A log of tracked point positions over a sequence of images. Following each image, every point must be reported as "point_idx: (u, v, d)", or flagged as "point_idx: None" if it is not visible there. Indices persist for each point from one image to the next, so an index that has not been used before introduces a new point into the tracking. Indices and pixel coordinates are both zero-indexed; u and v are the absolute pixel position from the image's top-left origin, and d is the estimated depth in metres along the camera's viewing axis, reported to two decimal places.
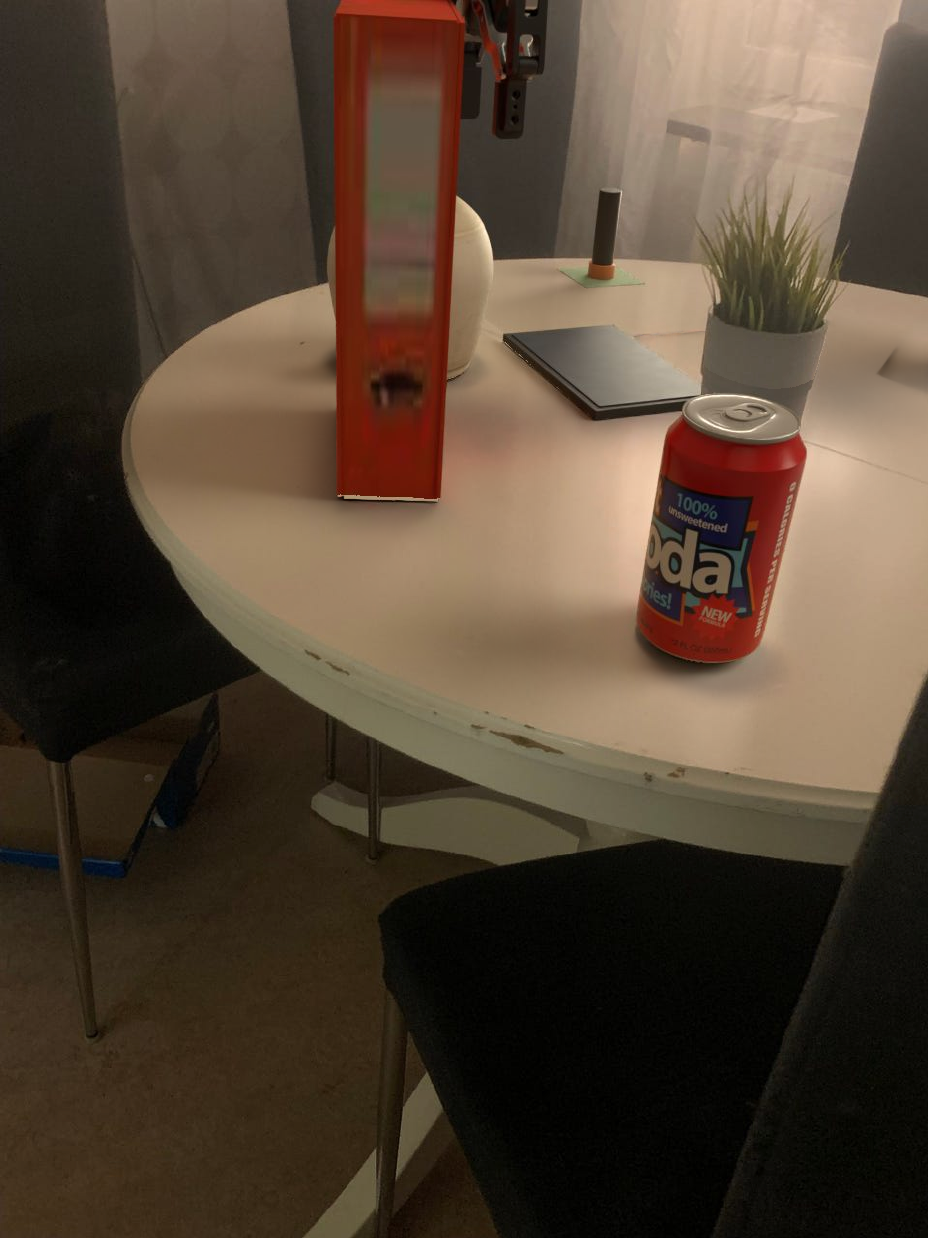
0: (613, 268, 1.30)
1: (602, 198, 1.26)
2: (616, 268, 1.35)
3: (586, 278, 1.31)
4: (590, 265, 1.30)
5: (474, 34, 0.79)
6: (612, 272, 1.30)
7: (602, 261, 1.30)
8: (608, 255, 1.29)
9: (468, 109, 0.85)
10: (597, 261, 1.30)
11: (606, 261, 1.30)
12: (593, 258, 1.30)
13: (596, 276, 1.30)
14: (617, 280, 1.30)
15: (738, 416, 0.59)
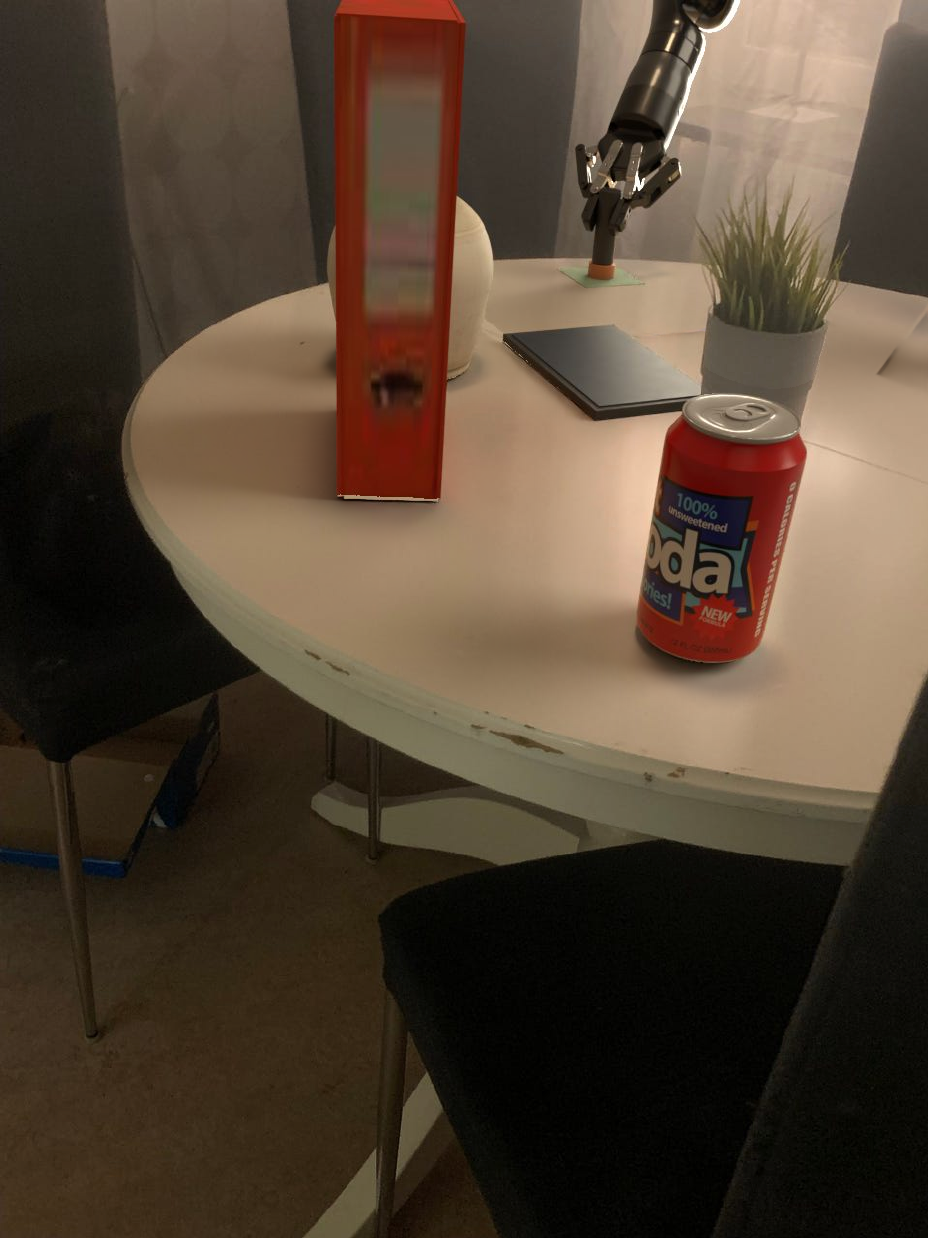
0: (613, 268, 1.30)
1: (602, 198, 1.26)
2: (616, 268, 1.35)
3: (586, 278, 1.31)
4: (590, 265, 1.30)
5: None
6: (612, 272, 1.30)
7: (602, 261, 1.30)
8: (608, 255, 1.29)
9: None
10: (597, 261, 1.30)
11: (606, 261, 1.30)
12: (593, 258, 1.30)
13: (596, 276, 1.30)
14: (617, 280, 1.30)
15: (738, 416, 0.59)
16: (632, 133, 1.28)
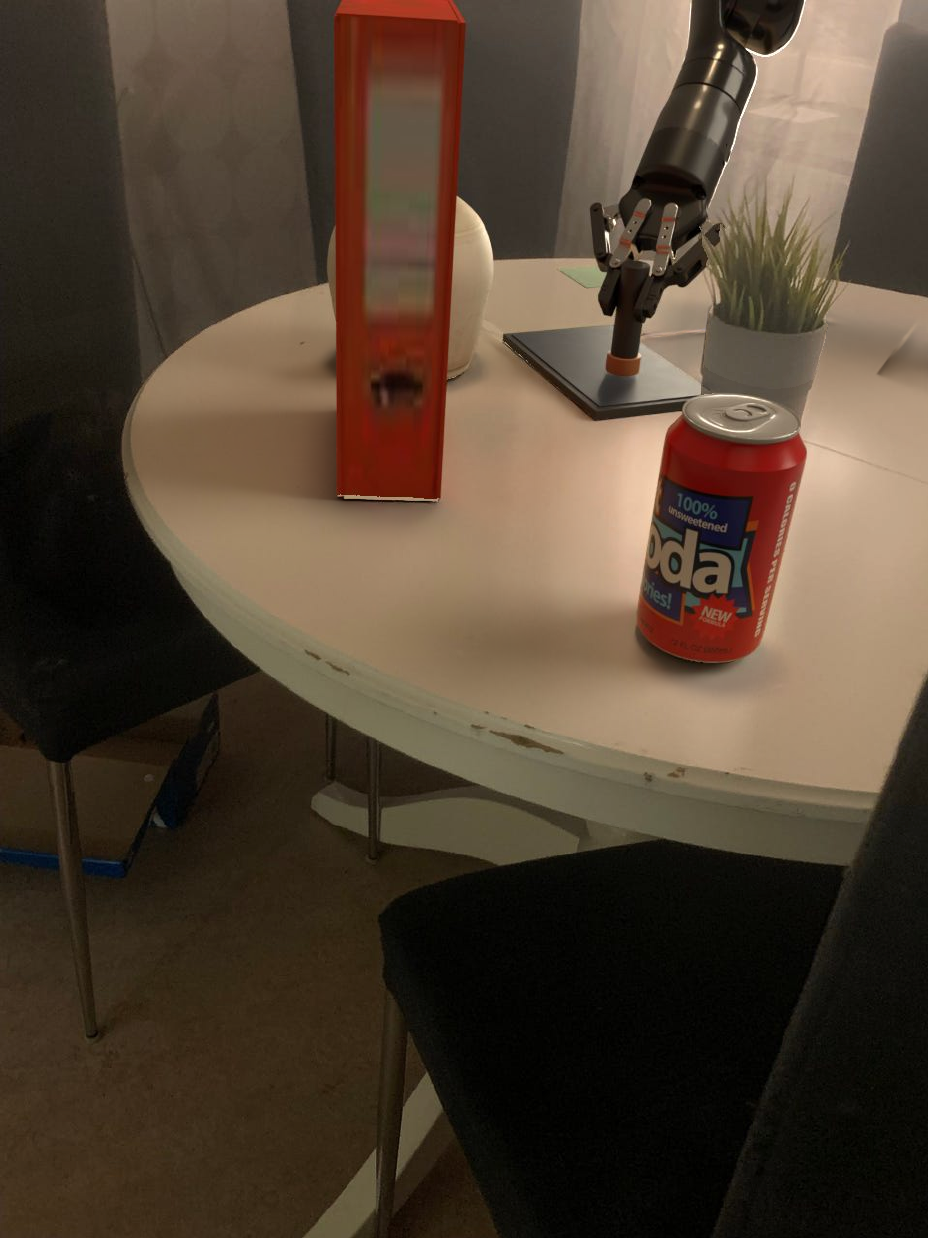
0: (638, 361, 1.02)
1: (626, 275, 0.97)
2: None
3: (586, 278, 1.31)
4: (609, 358, 1.02)
5: None
6: (637, 366, 1.02)
7: (624, 353, 1.01)
8: (632, 346, 1.00)
9: None
10: (618, 353, 1.01)
11: (629, 353, 1.01)
12: (612, 349, 1.01)
13: (616, 372, 1.01)
14: None
15: (738, 416, 0.59)
16: (663, 190, 0.99)
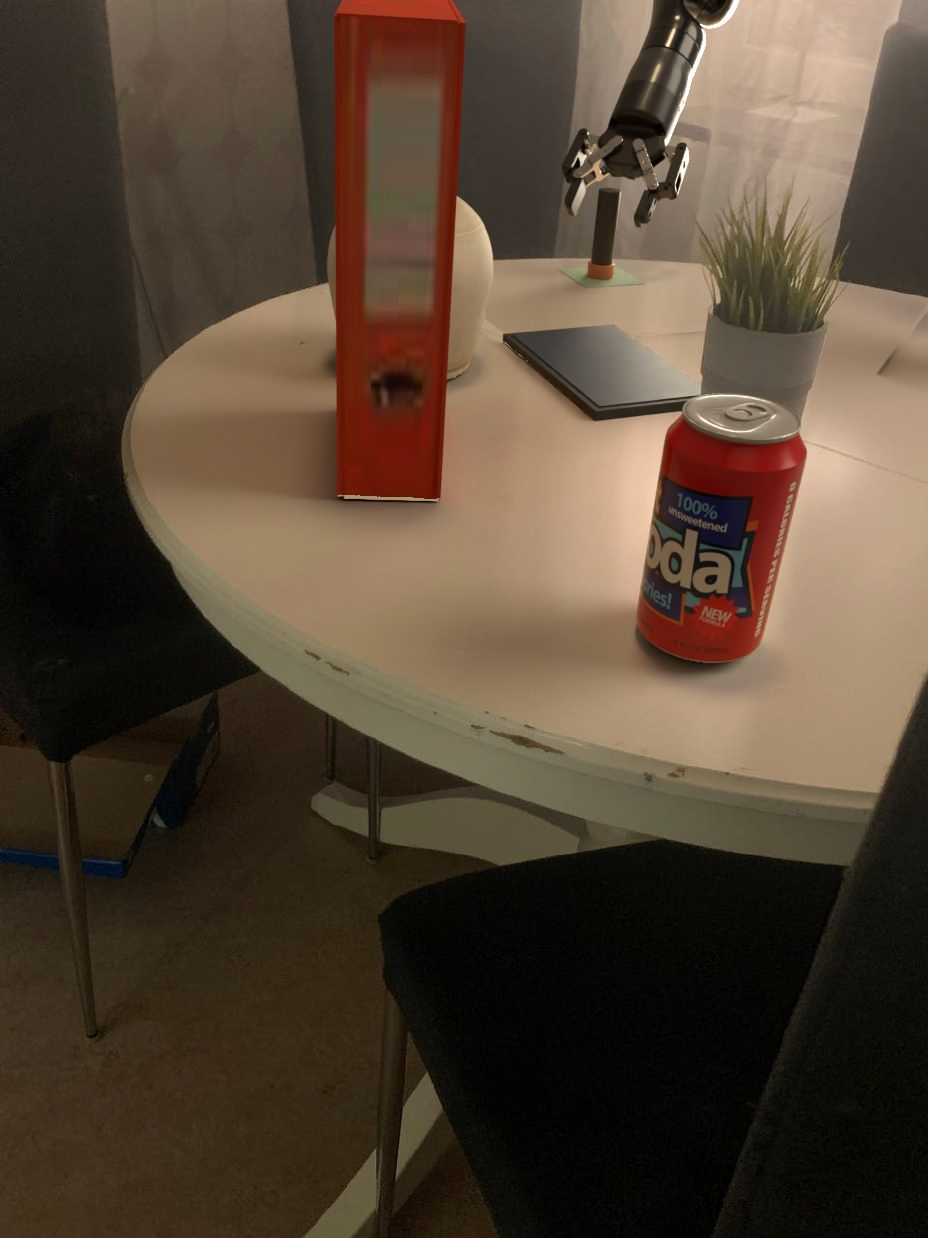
0: (612, 268, 1.30)
1: (602, 198, 1.26)
2: (616, 268, 1.35)
3: (586, 278, 1.31)
4: (589, 265, 1.30)
5: (628, 178, 1.28)
6: (611, 272, 1.30)
7: (601, 261, 1.30)
8: (607, 255, 1.29)
9: None
10: (596, 261, 1.30)
11: (605, 261, 1.30)
12: (592, 258, 1.30)
13: (595, 276, 1.30)
14: (617, 280, 1.30)
15: (738, 416, 0.59)
16: (632, 129, 1.27)
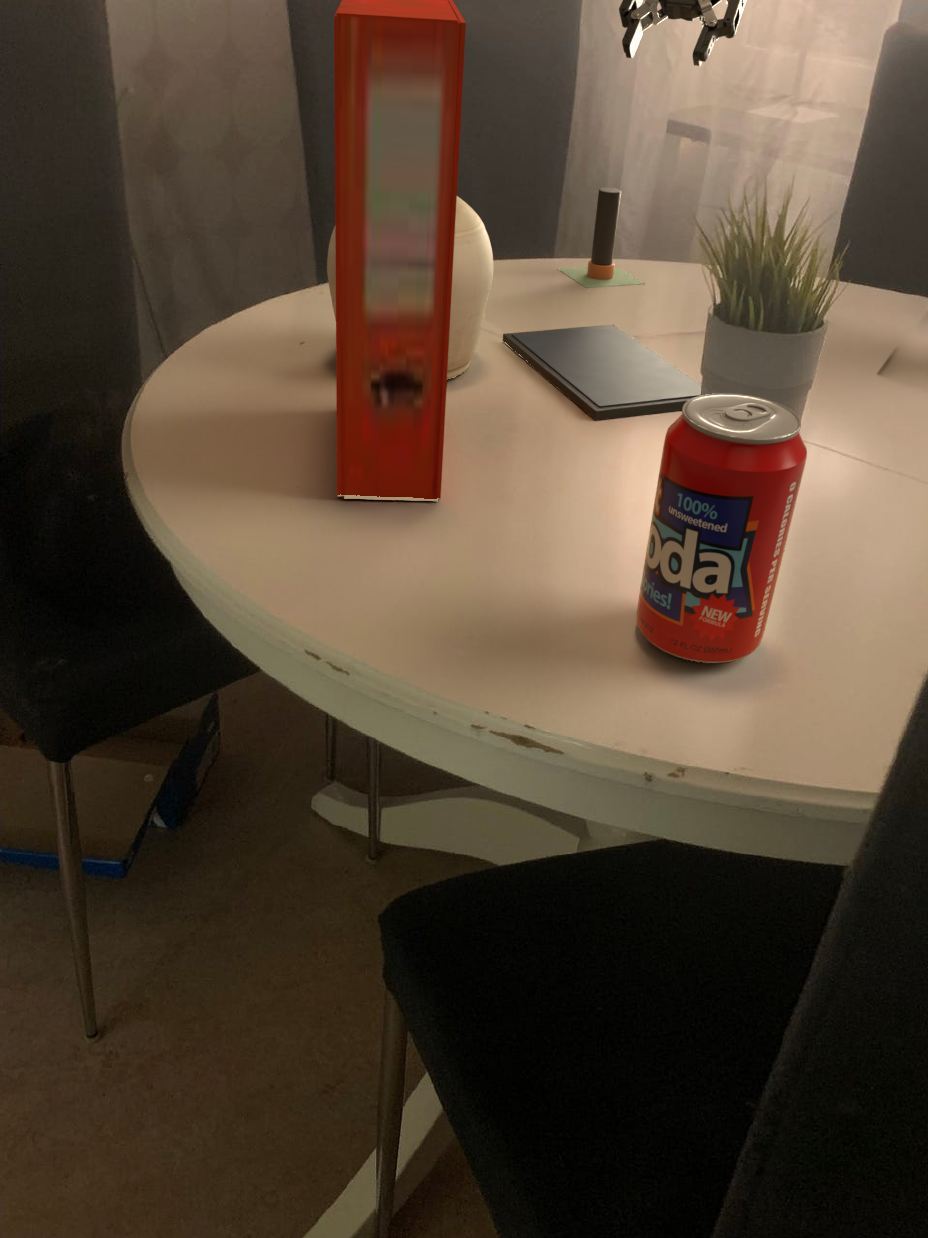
0: (612, 268, 1.30)
1: (602, 198, 1.26)
2: (616, 268, 1.35)
3: (586, 278, 1.31)
4: (589, 265, 1.30)
5: (685, 19, 1.29)
6: (611, 272, 1.30)
7: (601, 261, 1.30)
8: (607, 255, 1.29)
9: None
10: (596, 261, 1.30)
11: (605, 261, 1.30)
12: (592, 258, 1.30)
13: (595, 276, 1.30)
14: (617, 280, 1.30)
15: (738, 416, 0.59)
16: None
